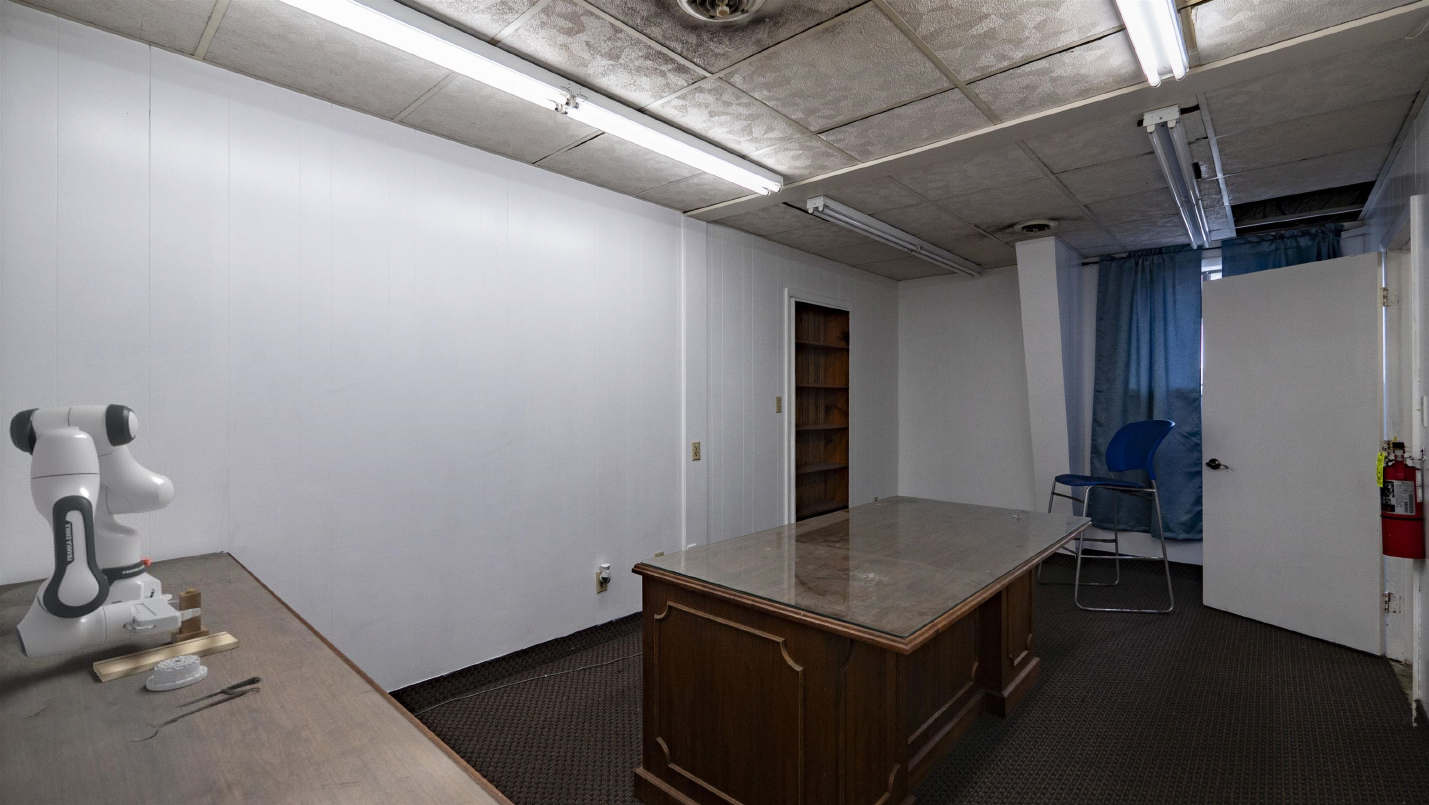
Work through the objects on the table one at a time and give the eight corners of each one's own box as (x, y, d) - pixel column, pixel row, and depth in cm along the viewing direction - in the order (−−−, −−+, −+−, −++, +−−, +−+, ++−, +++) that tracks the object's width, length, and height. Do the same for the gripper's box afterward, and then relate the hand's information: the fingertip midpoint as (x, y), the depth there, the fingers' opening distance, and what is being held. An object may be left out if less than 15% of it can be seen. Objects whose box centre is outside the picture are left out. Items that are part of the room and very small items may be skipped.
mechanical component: (133, 689, 130) (171, 694, 128) (133, 668, 130) (171, 673, 128) (182, 669, 140) (219, 673, 138) (182, 650, 140) (219, 653, 138)
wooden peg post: (177, 647, 152) (178, 594, 152) (170, 641, 156) (171, 590, 156) (208, 639, 157) (208, 588, 157) (201, 634, 160) (201, 584, 160)
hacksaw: (258, 680, 135) (258, 673, 135) (283, 691, 130) (283, 684, 130) (110, 731, 114) (110, 723, 114) (134, 746, 109) (134, 738, 109)
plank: (102, 681, 133) (102, 674, 133) (93, 669, 139) (93, 662, 139) (238, 646, 152) (238, 640, 152) (225, 637, 158) (225, 631, 158)
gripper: (130, 618, 140) (207, 602, 151) (110, 600, 152) (183, 586, 163) (129, 646, 140) (207, 628, 151) (110, 626, 152) (183, 611, 163)
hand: (194, 606), depth 157 cm, fingers open, 8 cm apart
